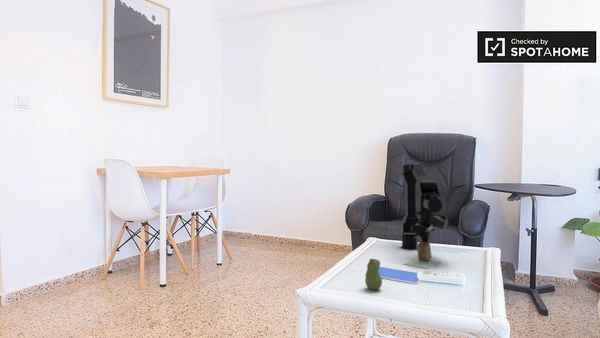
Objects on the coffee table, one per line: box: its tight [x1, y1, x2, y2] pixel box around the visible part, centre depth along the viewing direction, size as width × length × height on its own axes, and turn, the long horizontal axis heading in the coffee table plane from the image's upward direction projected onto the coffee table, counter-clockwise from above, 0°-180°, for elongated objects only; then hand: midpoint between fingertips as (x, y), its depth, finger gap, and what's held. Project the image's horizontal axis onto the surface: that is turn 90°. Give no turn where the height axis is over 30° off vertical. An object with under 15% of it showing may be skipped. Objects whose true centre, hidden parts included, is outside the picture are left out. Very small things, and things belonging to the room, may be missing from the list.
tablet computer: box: [364, 266, 421, 285], centre depth 146 cm, size 19×13×1 cm, turn 59°
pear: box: [365, 258, 383, 291], centre depth 130 cm, size 6×5×10 cm
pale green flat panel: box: [403, 256, 440, 270], centre depth 163 cm, size 10×14×1 cm
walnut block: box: [416, 240, 433, 262], centre depth 165 cm, size 4×4×7 cm
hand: (426, 246), depth 166 cm, fingers closed
